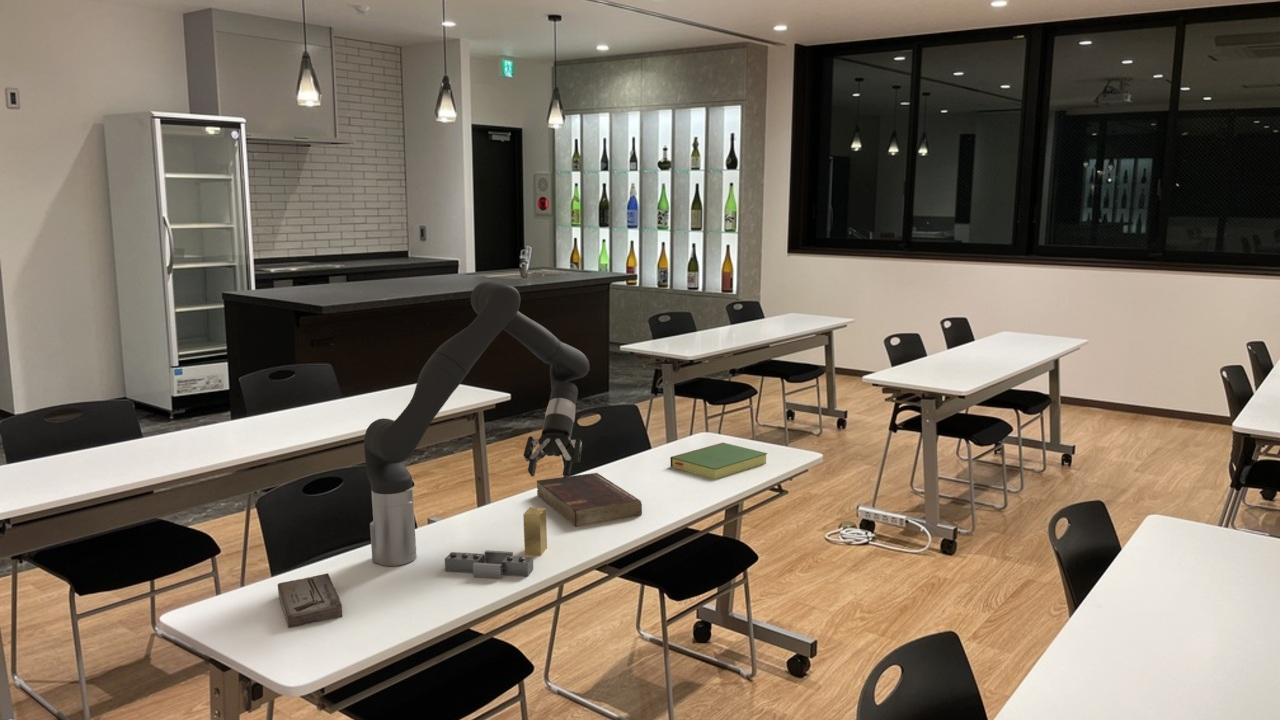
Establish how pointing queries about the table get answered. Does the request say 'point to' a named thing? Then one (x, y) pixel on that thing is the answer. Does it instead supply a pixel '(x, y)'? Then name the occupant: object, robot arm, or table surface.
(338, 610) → the box
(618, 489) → the hardback book
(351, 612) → the table surface
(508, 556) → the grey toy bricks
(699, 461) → the hardcover book
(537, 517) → the brass rectangular block
